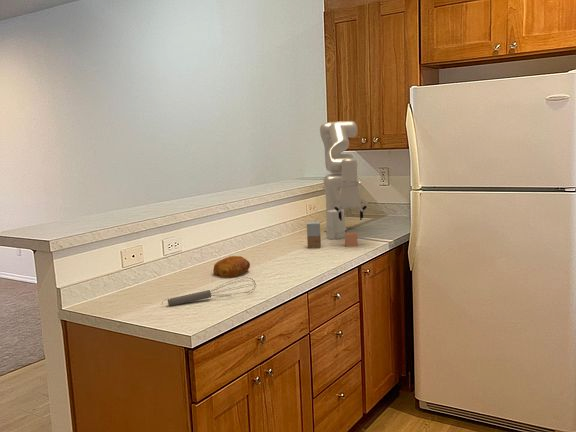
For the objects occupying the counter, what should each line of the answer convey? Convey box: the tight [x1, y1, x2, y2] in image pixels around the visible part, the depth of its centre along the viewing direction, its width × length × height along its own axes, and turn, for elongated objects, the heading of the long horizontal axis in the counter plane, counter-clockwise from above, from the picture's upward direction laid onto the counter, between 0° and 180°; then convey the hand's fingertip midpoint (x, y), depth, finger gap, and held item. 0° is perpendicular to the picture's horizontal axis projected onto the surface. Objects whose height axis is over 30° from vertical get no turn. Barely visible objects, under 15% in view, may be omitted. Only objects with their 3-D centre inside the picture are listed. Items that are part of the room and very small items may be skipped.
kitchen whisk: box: [161, 276, 257, 307], centre depth 201 cm, size 6×34×6 cm, turn 112°
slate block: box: [306, 221, 321, 237], centre depth 280 cm, size 6×6×6 cm
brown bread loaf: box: [212, 255, 251, 278], centre depth 237 cm, size 14×16×8 cm
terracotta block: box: [344, 231, 359, 248], centre depth 281 cm, size 6×6×6 cm
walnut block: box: [306, 235, 322, 249], centre depth 281 cm, size 6×6×6 cm
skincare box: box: [325, 209, 346, 241], centre depth 300 cm, size 8×6×15 cm
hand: (350, 219), depth 279 cm, fingers open, 9 cm apart
